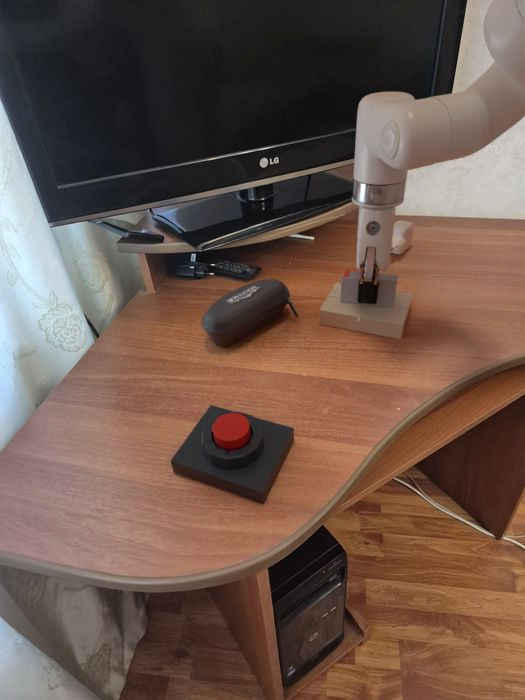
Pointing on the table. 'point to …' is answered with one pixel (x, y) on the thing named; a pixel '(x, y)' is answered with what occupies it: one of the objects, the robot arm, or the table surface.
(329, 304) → the base
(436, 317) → the table surface
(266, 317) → the glasses case
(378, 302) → the grey red-tipped bar
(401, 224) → the power adapter
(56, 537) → the table surface
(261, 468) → the switch block
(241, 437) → the button
